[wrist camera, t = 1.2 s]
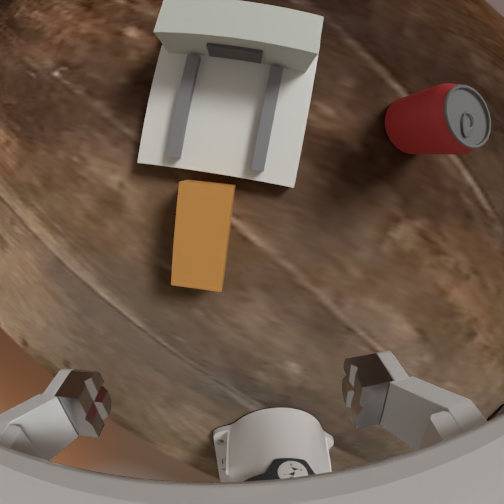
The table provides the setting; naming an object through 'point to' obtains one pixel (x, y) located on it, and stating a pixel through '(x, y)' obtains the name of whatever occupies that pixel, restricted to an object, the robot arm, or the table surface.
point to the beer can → (439, 121)
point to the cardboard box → (201, 234)
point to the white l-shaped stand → (231, 89)
